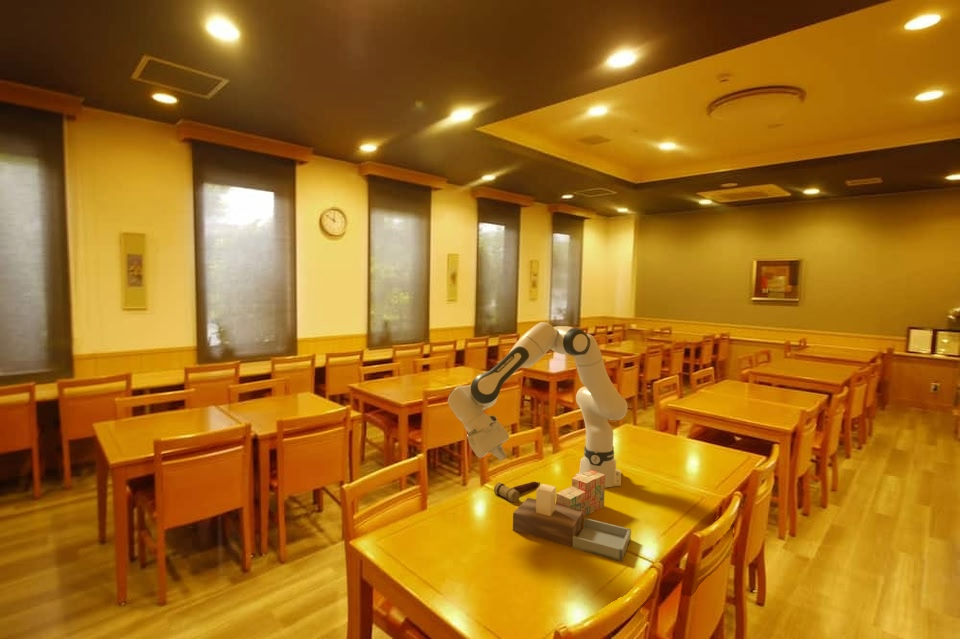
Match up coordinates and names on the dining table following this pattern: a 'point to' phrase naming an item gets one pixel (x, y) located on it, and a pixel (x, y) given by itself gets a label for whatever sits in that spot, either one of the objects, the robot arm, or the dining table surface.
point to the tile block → (545, 499)
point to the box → (603, 539)
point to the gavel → (513, 490)
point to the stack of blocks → (584, 493)
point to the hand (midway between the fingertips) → (503, 458)
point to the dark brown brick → (548, 522)
